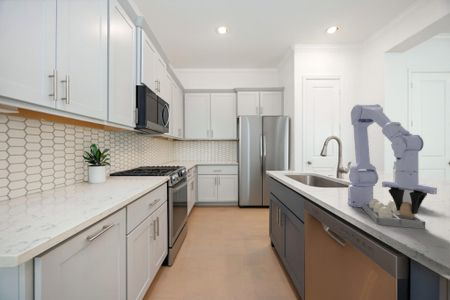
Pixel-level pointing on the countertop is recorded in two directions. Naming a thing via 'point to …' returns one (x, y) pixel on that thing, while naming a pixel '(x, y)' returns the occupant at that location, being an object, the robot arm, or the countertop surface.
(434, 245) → the countertop surface
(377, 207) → the cream eggs
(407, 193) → the milk carton
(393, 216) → the egg carton
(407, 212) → the brown egg
